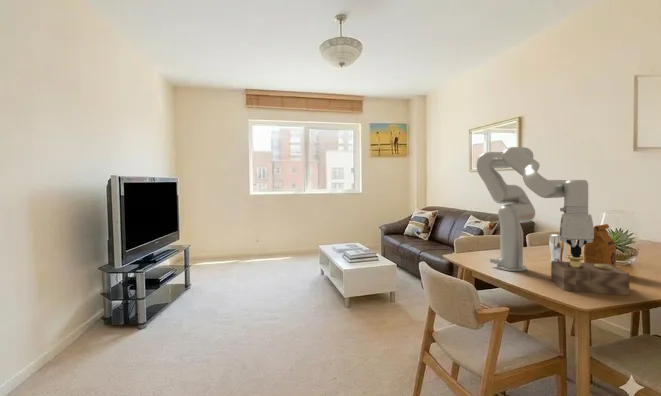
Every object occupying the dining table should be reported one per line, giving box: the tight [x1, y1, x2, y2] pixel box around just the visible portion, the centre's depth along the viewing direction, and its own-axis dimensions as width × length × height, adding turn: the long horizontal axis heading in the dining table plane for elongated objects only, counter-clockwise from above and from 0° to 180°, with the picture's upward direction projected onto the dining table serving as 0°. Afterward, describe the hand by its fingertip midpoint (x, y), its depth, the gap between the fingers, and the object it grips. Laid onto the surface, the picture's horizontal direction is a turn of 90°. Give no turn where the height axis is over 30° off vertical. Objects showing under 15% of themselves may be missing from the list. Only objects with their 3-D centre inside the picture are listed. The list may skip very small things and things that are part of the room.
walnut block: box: [550, 260, 630, 296], centre depth 122 cm, size 20×14×9 cm
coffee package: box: [583, 223, 617, 268], centre depth 140 cm, size 10×12×22 cm
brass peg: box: [566, 254, 584, 268], centre depth 123 cm, size 5×5×8 cm
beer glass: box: [548, 233, 567, 265], centre depth 155 cm, size 7×7×15 cm
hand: (575, 256), depth 123 cm, fingers closed
